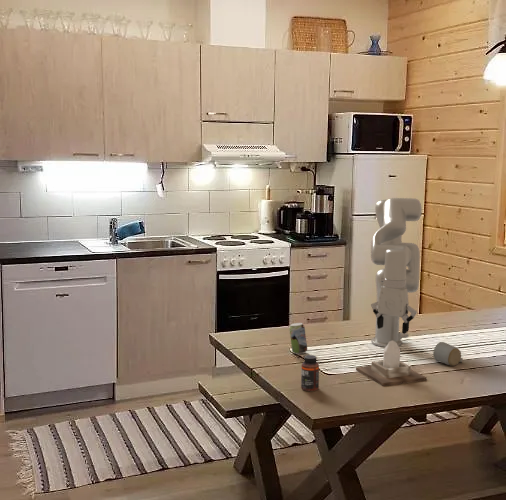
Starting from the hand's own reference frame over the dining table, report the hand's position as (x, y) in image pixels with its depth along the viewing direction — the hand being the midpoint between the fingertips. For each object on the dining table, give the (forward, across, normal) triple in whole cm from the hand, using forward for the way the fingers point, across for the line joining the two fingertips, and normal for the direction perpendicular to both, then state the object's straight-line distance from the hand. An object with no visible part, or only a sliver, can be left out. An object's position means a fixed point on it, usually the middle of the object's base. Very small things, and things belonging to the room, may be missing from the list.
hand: (392, 330), depth 248 cm
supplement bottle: (+16, -14, -32) cm, 38 cm away
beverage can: (+17, -40, 0) cm, 43 cm away
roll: (+16, 0, 0) cm, 16 cm away
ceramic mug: (+17, +11, +27) cm, 34 cm away
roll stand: (+16, 0, -1) cm, 16 cm away
